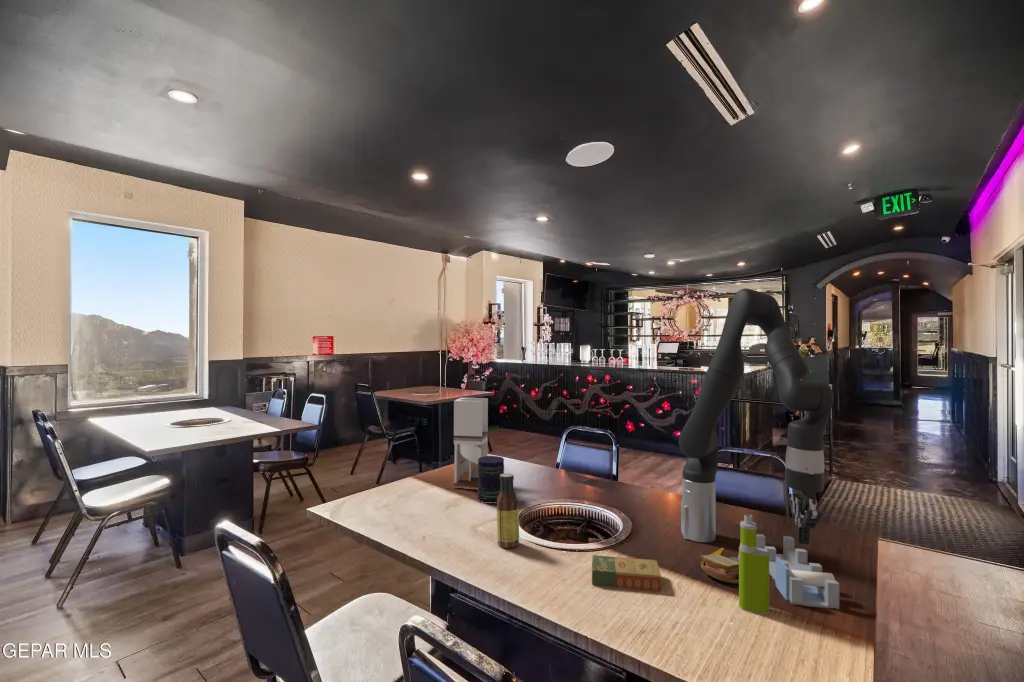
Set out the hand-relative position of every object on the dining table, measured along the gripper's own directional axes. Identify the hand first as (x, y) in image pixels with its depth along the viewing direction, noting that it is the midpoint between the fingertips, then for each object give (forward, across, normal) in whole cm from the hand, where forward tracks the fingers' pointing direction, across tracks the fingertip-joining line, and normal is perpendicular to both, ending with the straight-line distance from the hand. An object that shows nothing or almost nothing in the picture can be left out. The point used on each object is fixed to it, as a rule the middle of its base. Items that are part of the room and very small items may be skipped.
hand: (802, 542), depth 107 cm
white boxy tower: (+15, -63, -99) cm, 118 cm away
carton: (+13, +2, -39) cm, 42 cm away
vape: (+12, +8, -12) cm, 19 cm away
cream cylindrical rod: (+10, 0, +1) cm, 10 cm away
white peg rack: (+12, -8, +1) cm, 15 cm away
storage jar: (+14, -48, -86) cm, 100 cm away
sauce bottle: (+14, -12, -72) cm, 74 cm away
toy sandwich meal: (+13, -7, -14) cm, 20 cm away
